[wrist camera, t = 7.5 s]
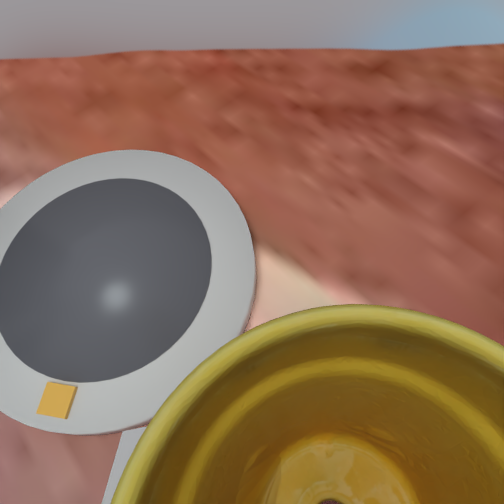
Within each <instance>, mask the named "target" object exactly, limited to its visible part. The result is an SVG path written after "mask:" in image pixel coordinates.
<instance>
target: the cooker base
mask: <svg viewBox="0 0 504 504" xmlns="http://www.w3.org/2000/svg"><path fill="white" fill-rule="evenodd" d="M255 288H256V261H255V256H254V250H253V244H252V239H251V234H250V231H249V228H248V225H247V222H246V219H245V217H244V215H243V214H242V212H241V210H240V208H239V206H238V204H237V203H236V201H235V200H234V198H233V197H232V196H231V194H230V193H229V191H228V190H227V189H226V188H225V187H224V186H223V185H222V184H221V183H220V182H219V181H218V180H217V179H215V178H214V177H213V176H211V175H210V174H209V173H208V172H206V171H205V170H203V169H201V168H200V167H198V166H196V165H194V164H193V163H191V162H188V161H186V160H183V159H181V158H178V157H176V156H172V155H168V154H164V153H160V152H153V151H146V150H120V151H110V152H104V153H99V154H94V155H90V156H87V157H83V158H80V159H77V160H74V161H72V162H69V163H67V164H64V165H62V166H60V167H58V168H56V169H54V170H52V171H50V172H48V173H46V174H44V175H43V176H41V177H40V178H38V179H36V180H35V181H33V182H32V183H30V184H29V185H28V186H26V187H25V188H24V189H22V190H21V191H20V192H18V193H17V194H16V195H15V196H14V197H13V198H12V199H11V200H9V201H8V202H7V203H6V204H5V205H4V206H3V207H2V208H1V209H0V411H2V412H3V413H4V414H6V415H7V416H9V417H11V418H13V419H15V420H17V421H19V422H21V423H23V424H25V425H28V426H31V427H35V428H38V429H42V430H45V431H50V432H57V433H64V434H73V435H81V436H87V435H107V434H112V433H118V432H123V431H127V430H131V429H134V428H137V427H140V426H143V425H147V424H149V423H150V421H151V419H152V418H153V417H154V415H155V414H156V412H157V411H158V409H159V408H160V407H161V406H162V404H163V403H164V402H165V400H166V399H167V398H168V397H169V395H170V394H171V393H172V392H173V391H174V390H175V389H176V388H177V386H178V385H179V384H180V383H181V382H182V381H183V380H184V379H185V378H186V377H187V376H188V375H189V374H190V373H191V372H192V371H193V370H194V369H195V368H196V367H197V366H198V365H199V364H200V363H201V362H203V361H204V360H205V359H206V358H208V357H209V356H210V355H212V354H213V353H214V352H215V351H217V350H218V349H219V348H220V347H222V346H223V345H225V344H226V343H228V342H229V341H231V340H232V339H234V338H236V337H238V336H239V335H241V334H243V333H244V331H245V328H246V326H247V323H248V321H249V318H250V314H251V310H252V306H253V302H254V297H255Z"/></svg>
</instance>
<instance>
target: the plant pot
mask: <svg viewBox="0 0 504 504" xmlns="http://www.w3.org/2000/svg"><path fill="white" fill-rule="evenodd" d="M324 501H336V502H338V503H339V504H504V346H502V345H501V344H499V343H497V342H495V341H493V340H491V339H489V338H488V337H486V336H484V335H482V334H480V333H477V332H475V331H473V330H471V329H469V328H467V327H464V326H462V325H459V324H457V323H454V322H452V321H449V320H446V319H443V318H440V317H437V316H433V315H429V314H425V313H421V312H417V311H413V310H408V309H403V308H397V307H389V306H381V305H364V304H347V305H333V306H323V307H317V308H311V309H307V310H303V311H299V312H295V313H291V314H288V315H285V316H282V317H279V318H276V319H274V320H271V321H268V322H266V323H264V324H261V325H259V326H256V327H254V328H253V329H251V330H249V331H247V332H245V333H243V334H241V335H239V336H238V337H236V338H234V339H232V340H231V341H229V342H228V343H226V344H225V345H223V346H222V347H220V348H219V349H218V350H217V351H215V352H214V353H213V354H212V355H210V356H209V357H208V358H206V359H205V360H204V361H203V362H201V363H200V364H199V365H198V366H197V367H196V368H195V369H194V370H193V371H192V372H191V373H190V374H189V375H188V376H187V377H186V378H185V379H184V380H183V381H182V382H181V383H180V384H179V385H178V386H177V388H176V389H175V390H174V391H173V392H172V393H171V394H170V395H169V397H168V398H167V399H166V400H165V402H164V403H163V404H162V406H161V407H160V408H159V409H158V411H157V412H156V414H155V415H154V417H153V418H152V419H151V421H150V423H149V424H148V426H147V427H146V429H145V431H144V432H143V434H142V435H141V437H140V439H139V441H138V443H137V445H136V446H135V448H134V450H133V452H132V454H131V456H130V458H129V460H128V462H127V464H126V466H125V468H124V471H123V473H122V475H121V478H120V480H119V482H118V485H117V487H116V490H115V492H114V495H113V498H112V500H111V503H110V504H321V503H323V502H324Z"/></svg>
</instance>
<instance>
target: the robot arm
mask: <svg viewBox="0 0 504 504" xmlns="http://www.w3.org/2000/svg"><path fill="white" fill-rule="evenodd" d="M145 429H146V427H142V428H137V429H132V430H127V431H123V433H122V436H121V439H120V443H119V446H118V450H117V453H116V456H115V460H114V463H113V467H112V470H111V473H110V477H109V480H108V484H107V487H106V490H105V494H104V497H103V501H102V504H110V503H111V500H112V498H113V495H114V492H115V490H116V487H117V485H118V482H119V480H120V478H121V475H122V473H123V471H124V468H125V466H126V464H127V462H128V460H129V458H130V456H131V454H132V452H133V450H134V448H135V446H136V445H137V443H138V441H139V439H140V437H141V435H142V434H143V432H144V431H145Z"/></svg>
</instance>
